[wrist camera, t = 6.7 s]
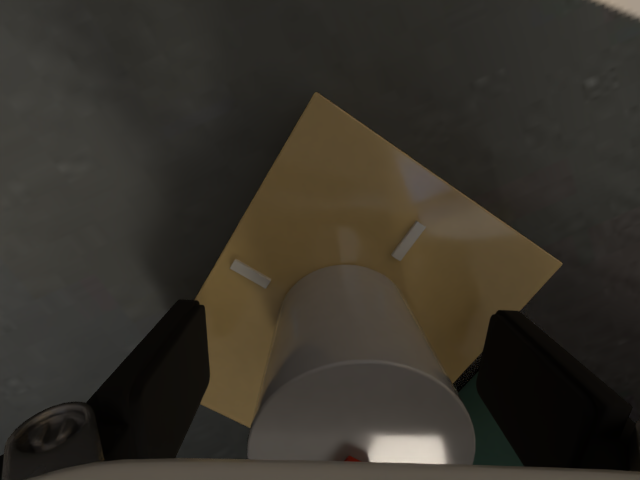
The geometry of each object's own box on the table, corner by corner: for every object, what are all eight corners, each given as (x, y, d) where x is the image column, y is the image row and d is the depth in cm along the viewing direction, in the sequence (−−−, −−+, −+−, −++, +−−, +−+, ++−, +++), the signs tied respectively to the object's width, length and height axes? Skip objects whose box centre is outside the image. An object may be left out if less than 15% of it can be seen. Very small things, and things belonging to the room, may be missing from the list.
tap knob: (324, 237, 10) (328, 326, 5) (438, 308, 11) (536, 444, 6) (252, 343, 12) (200, 498, 7) (360, 400, 12) (388, 578, 7)
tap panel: (180, 334, 15) (145, 383, 12) (316, 102, 12) (315, 89, 9) (355, 424, 17) (363, 486, 14) (513, 238, 14) (568, 265, 11)
